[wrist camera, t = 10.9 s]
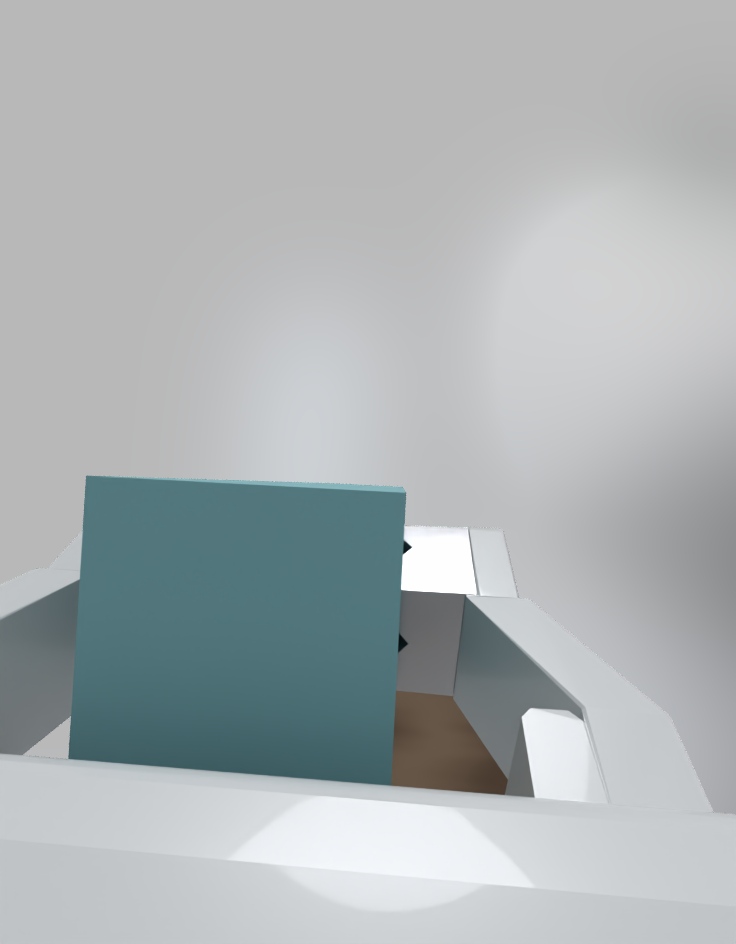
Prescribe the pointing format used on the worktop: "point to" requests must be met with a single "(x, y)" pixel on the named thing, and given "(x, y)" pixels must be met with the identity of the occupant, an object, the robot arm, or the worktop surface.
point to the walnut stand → (440, 748)
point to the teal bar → (239, 626)
